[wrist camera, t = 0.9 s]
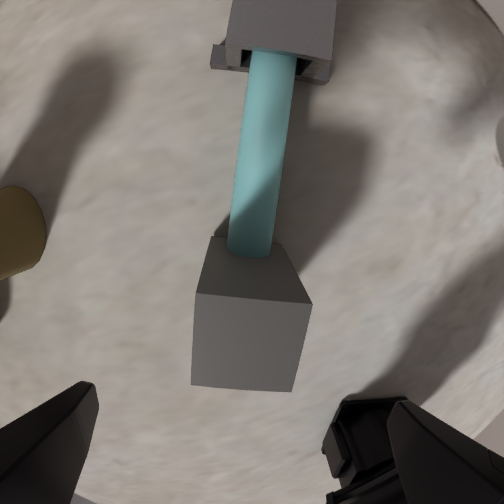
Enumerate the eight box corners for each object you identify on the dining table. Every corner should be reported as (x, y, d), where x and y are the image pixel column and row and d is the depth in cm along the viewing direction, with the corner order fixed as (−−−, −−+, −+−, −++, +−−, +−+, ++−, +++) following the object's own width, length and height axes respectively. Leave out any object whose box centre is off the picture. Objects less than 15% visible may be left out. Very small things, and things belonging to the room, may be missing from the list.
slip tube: (317, -48, 13) (353, -120, 6) (270, 306, 20) (291, 392, 12) (255, -58, 13) (266, -138, 5) (205, 300, 19) (190, 384, 12)
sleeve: (333, -21, 14) (356, -57, 10) (323, 85, 16) (350, 65, 12) (231, -38, 14) (232, -80, 9) (211, 68, 16) (203, 41, 11)
